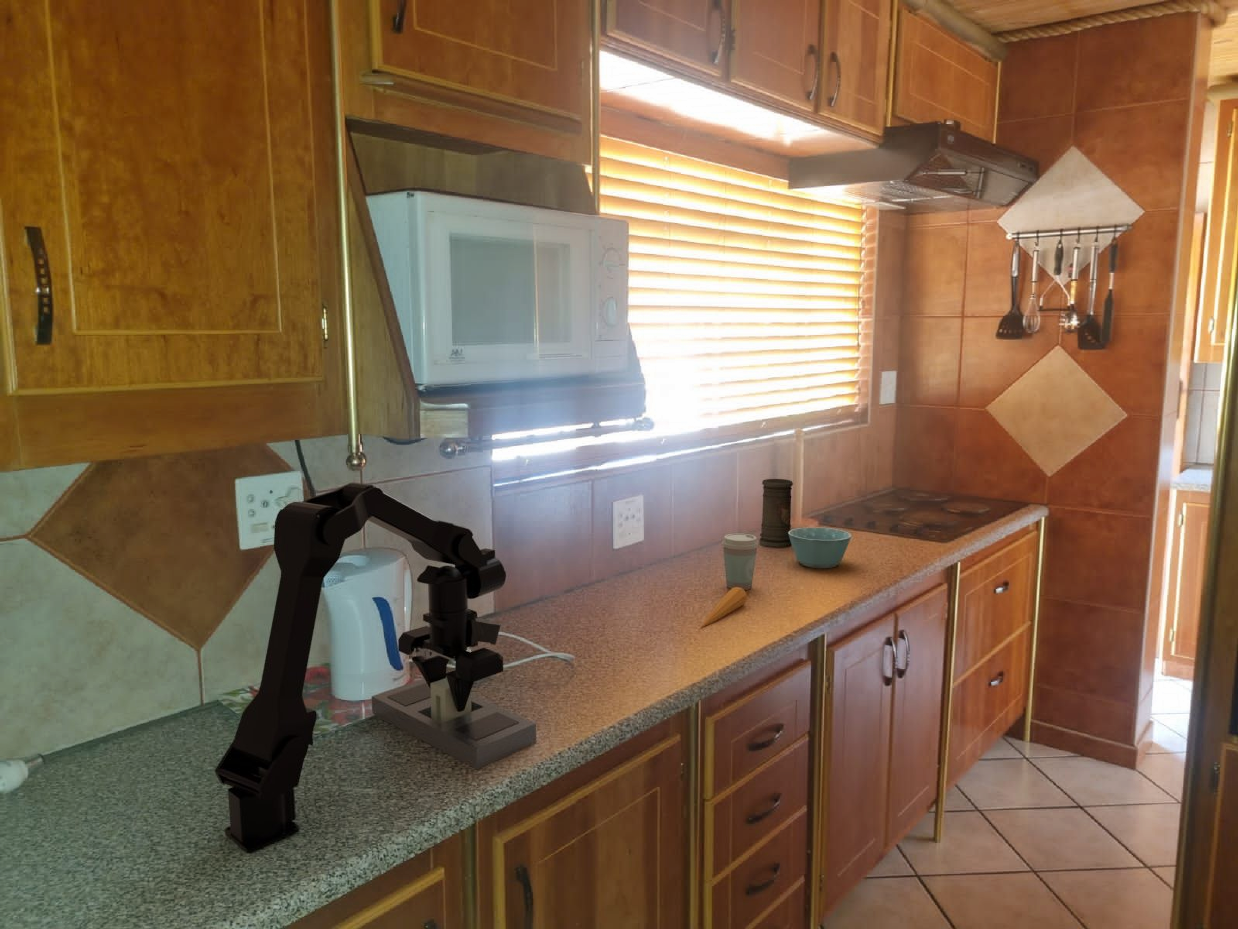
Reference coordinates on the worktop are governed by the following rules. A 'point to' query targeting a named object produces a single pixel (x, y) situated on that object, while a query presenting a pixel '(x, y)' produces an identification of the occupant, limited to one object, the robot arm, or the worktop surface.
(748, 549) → the coffee cup
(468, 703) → the beige slotted block
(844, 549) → the bowl
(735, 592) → the carrot
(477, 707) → the grey slotted tray
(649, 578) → the worktop surface
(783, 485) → the container
